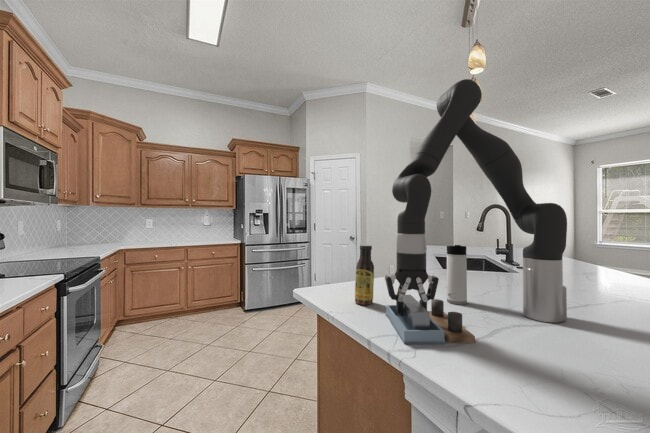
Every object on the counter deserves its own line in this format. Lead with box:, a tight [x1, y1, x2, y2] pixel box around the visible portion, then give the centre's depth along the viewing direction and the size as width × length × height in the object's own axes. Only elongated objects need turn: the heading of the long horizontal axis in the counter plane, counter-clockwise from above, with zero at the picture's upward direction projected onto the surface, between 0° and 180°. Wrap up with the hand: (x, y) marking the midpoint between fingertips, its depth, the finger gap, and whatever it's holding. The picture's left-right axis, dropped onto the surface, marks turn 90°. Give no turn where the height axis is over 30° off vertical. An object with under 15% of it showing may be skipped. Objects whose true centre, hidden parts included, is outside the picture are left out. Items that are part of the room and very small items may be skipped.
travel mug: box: [446, 244, 468, 306], centre depth 97 cm, size 6×7×20 cm
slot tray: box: [385, 304, 446, 345], centre depth 74 cm, size 9×20×3 cm, turn 0°
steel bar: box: [397, 294, 430, 330], centre depth 75 cm, size 4×16×6 cm, turn 179°
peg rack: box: [427, 298, 476, 344], centre depth 74 cm, size 6×18×6 cm, turn 0°
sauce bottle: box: [354, 244, 375, 306], centre depth 97 cm, size 6×6×20 cm
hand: (411, 314), depth 75 cm, fingers open, 5 cm apart
